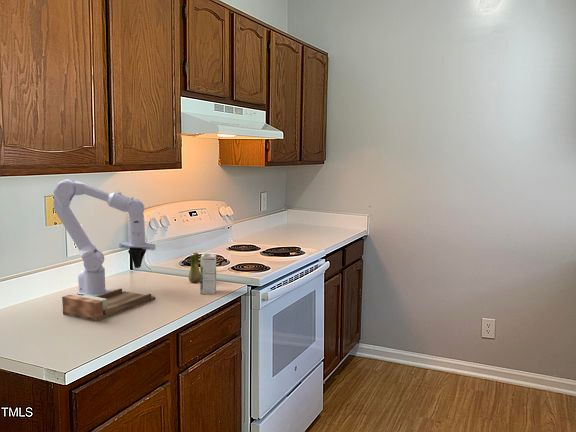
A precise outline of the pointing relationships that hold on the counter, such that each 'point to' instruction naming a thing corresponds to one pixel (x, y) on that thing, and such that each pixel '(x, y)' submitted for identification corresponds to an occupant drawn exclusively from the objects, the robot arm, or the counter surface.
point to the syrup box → (208, 274)
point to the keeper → (97, 299)
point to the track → (118, 303)
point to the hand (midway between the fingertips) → (137, 267)
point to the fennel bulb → (194, 269)
